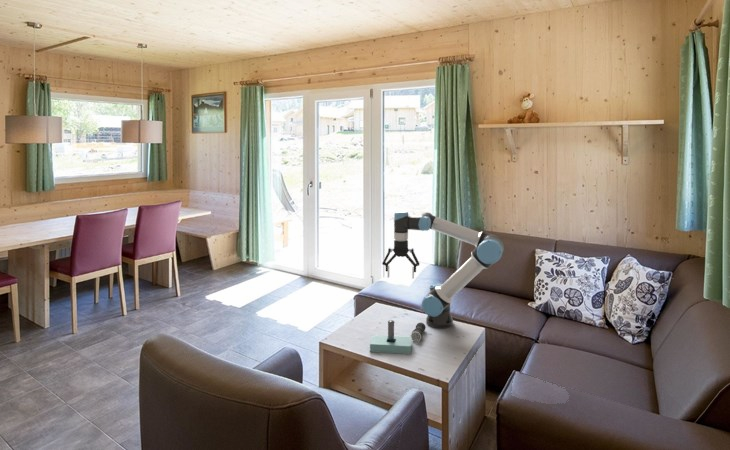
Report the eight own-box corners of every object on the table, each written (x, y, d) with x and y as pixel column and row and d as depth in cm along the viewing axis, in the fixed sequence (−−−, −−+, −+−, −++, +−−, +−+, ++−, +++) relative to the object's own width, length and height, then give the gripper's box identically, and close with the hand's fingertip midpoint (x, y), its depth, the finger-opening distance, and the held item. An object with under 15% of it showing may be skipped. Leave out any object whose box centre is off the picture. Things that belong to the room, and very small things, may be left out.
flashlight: (416, 330, 245) (416, 320, 244) (426, 331, 244) (426, 321, 243) (410, 341, 231) (410, 331, 230) (420, 342, 229) (421, 332, 228)
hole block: (411, 344, 226) (411, 337, 226) (410, 354, 215) (410, 346, 215) (372, 342, 229) (372, 335, 228) (370, 351, 218) (370, 344, 218)
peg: (394, 346, 224) (394, 320, 221) (393, 349, 221) (393, 322, 218) (388, 346, 224) (388, 320, 222) (387, 349, 221) (387, 322, 219)
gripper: (424, 238, 243) (423, 276, 247) (378, 237, 247) (378, 274, 250) (424, 241, 236) (423, 280, 239) (377, 240, 239) (377, 278, 243)
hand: (400, 277), depth 245 cm, fingers open, 13 cm apart
